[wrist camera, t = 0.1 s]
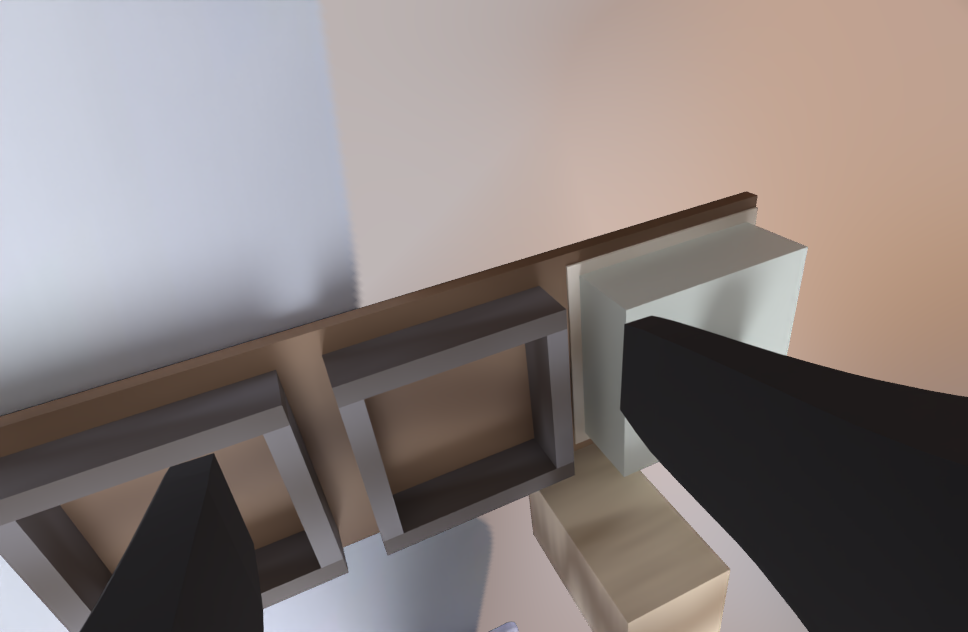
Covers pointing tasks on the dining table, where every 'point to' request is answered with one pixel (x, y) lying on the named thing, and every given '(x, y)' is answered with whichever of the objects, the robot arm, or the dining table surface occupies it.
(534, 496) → the maple peg
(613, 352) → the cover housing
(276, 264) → the dining table surface
